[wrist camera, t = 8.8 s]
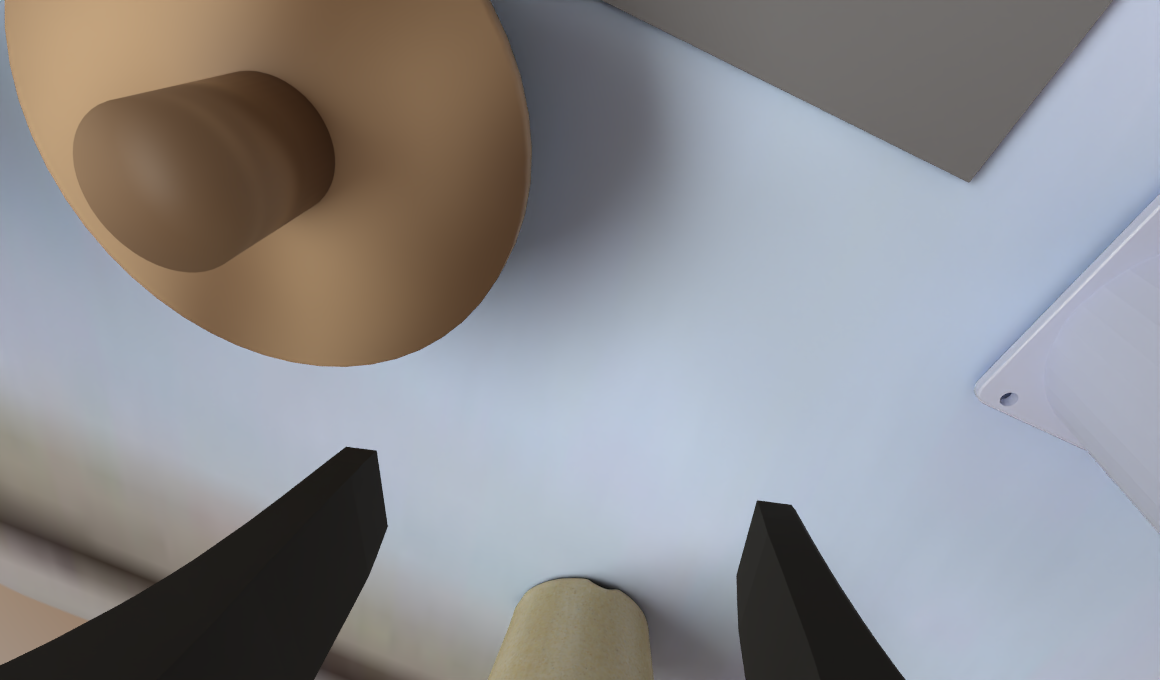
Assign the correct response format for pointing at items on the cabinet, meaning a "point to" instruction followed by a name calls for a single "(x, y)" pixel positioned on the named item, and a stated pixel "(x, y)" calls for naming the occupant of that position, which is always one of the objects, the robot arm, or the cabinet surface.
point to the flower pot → (575, 635)
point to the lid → (286, 159)
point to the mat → (894, 60)
